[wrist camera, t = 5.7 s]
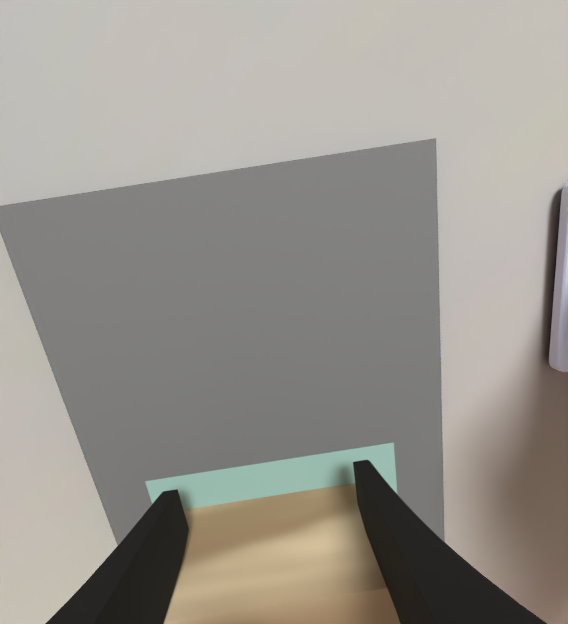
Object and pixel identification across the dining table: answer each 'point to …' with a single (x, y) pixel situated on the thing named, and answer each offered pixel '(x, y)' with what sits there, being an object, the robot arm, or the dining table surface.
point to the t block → (281, 563)
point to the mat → (245, 328)
